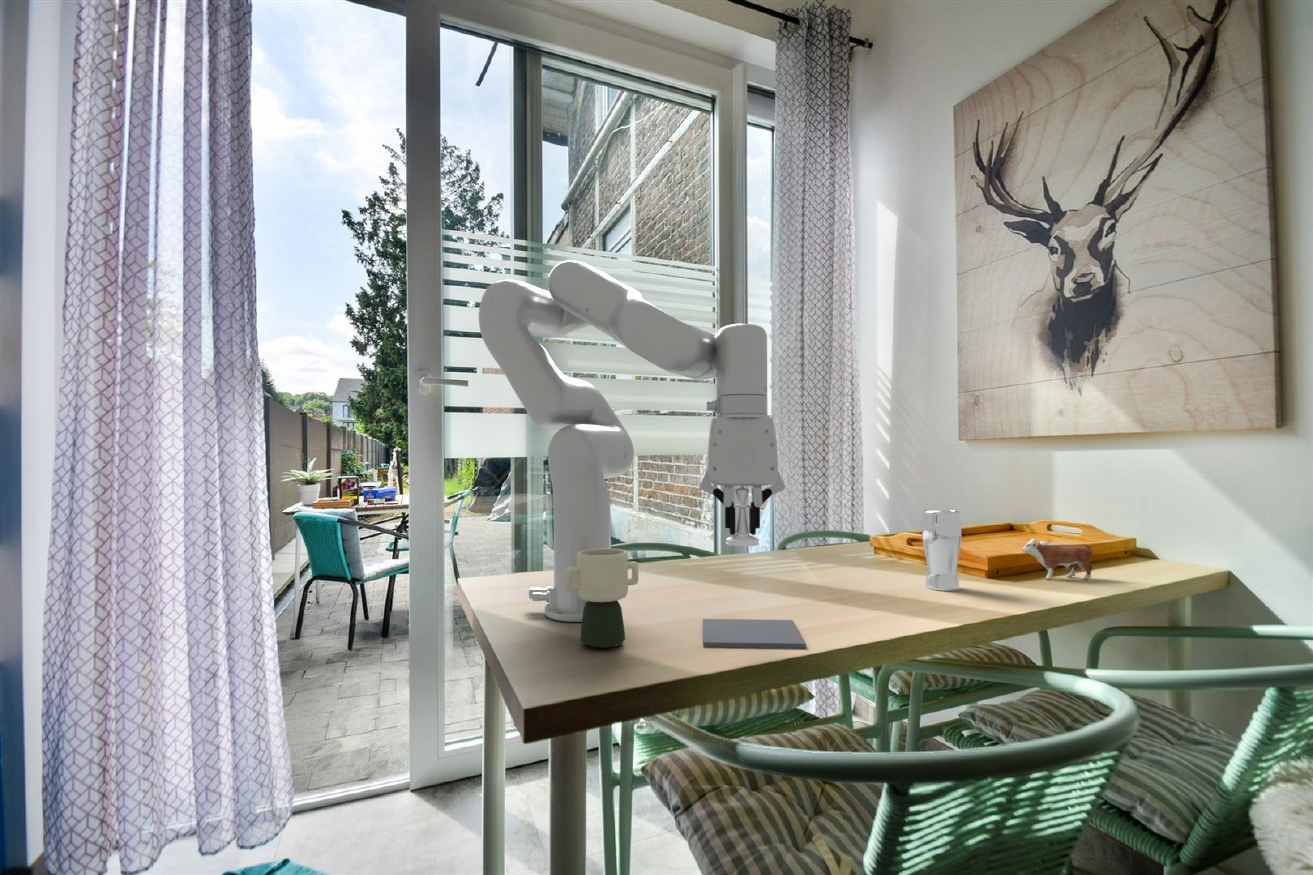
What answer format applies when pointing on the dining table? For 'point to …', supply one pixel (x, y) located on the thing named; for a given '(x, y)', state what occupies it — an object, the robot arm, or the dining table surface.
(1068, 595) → the dining table surface
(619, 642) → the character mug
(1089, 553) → the bull figurine
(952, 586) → the beer glass
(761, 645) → the mat
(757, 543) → the chess piece
